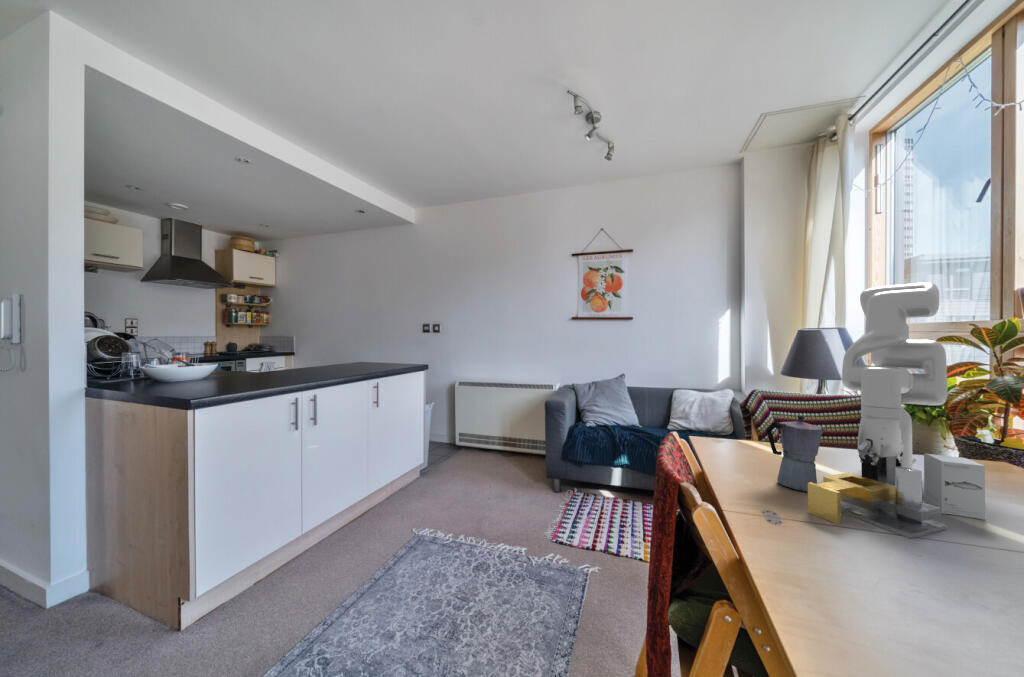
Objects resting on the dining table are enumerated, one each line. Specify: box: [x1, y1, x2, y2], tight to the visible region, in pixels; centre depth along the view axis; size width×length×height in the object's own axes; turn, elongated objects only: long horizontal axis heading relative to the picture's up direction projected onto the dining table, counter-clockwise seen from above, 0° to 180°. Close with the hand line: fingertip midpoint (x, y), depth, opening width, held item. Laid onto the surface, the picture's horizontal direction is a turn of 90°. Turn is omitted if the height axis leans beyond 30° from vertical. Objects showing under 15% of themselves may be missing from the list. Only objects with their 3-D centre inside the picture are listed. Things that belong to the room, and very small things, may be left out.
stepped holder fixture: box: [807, 467, 947, 539], centre depth 83 cm, size 21×16×12 cm
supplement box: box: [923, 453, 986, 521], centre depth 87 cm, size 7×7×13 cm
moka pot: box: [765, 415, 826, 493], centre depth 101 cm, size 10×15×20 cm, turn 89°
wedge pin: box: [870, 456, 896, 486], centre depth 96 cm, size 4×4×11 cm
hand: (881, 477), depth 96 cm, fingers open, 9 cm apart
